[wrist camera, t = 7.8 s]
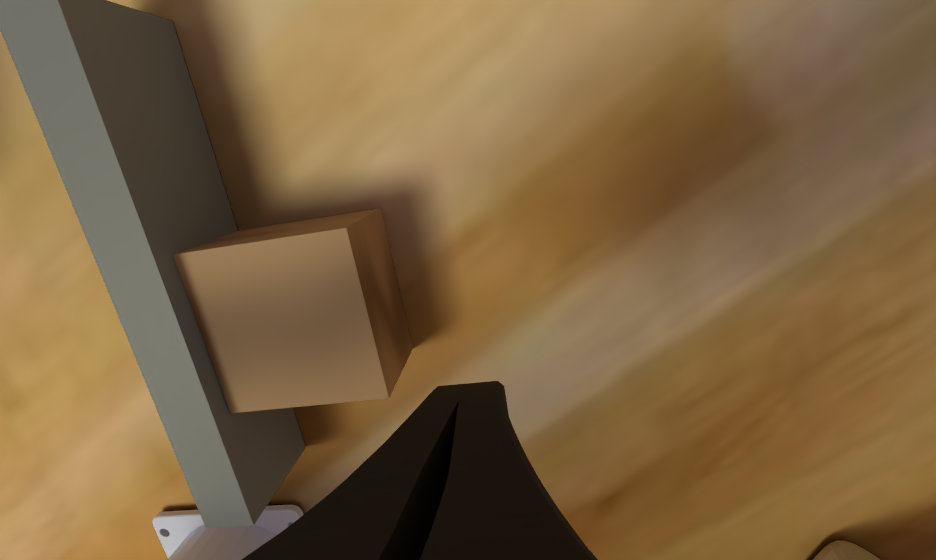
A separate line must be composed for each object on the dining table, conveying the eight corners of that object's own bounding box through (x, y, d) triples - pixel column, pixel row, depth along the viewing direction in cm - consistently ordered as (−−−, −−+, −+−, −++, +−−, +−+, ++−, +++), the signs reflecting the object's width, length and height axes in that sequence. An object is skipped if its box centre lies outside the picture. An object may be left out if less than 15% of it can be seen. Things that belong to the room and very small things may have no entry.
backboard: (305, 447, 22) (253, 525, 17) (266, 450, 22) (205, 527, 18) (172, 21, 16) (51, -17, 12) (122, 32, 17) (-13, -1, 12)
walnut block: (413, 346, 20) (388, 398, 16) (283, 361, 21) (230, 413, 17) (382, 207, 18) (346, 228, 14) (242, 229, 19) (172, 254, 15)
